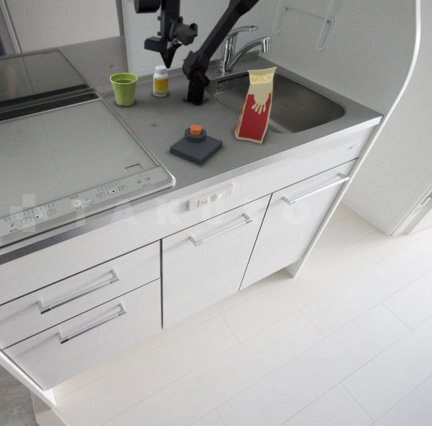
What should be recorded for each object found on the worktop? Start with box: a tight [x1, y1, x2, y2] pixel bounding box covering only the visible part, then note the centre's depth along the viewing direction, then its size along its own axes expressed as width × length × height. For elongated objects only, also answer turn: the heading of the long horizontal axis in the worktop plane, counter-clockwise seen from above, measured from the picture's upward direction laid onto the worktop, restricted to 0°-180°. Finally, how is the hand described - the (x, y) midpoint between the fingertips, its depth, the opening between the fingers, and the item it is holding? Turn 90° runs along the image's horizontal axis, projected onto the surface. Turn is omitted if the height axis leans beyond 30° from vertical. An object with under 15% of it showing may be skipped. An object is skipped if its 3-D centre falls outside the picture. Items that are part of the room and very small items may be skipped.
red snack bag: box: [234, 66, 278, 145], centre depth 87 cm, size 9×9×20 cm
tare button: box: [190, 124, 203, 135], centre depth 86 cm, size 3×3×2 cm
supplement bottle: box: [152, 65, 169, 98], centre depth 110 cm, size 5×5×10 cm
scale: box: [169, 126, 224, 166], centre depth 85 cm, size 12×10×4 cm
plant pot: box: [109, 72, 139, 107], centre depth 104 cm, size 9×9×9 cm
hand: (168, 68), depth 99 cm, fingers closed
